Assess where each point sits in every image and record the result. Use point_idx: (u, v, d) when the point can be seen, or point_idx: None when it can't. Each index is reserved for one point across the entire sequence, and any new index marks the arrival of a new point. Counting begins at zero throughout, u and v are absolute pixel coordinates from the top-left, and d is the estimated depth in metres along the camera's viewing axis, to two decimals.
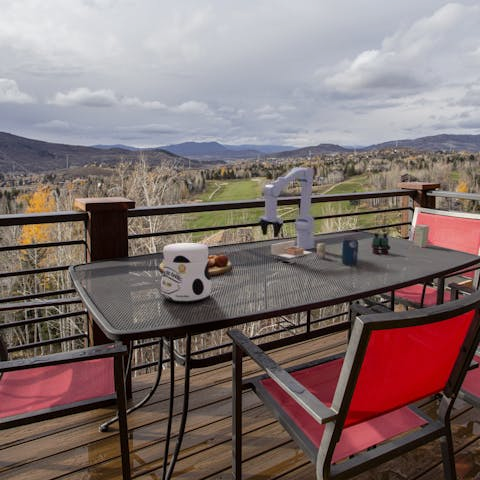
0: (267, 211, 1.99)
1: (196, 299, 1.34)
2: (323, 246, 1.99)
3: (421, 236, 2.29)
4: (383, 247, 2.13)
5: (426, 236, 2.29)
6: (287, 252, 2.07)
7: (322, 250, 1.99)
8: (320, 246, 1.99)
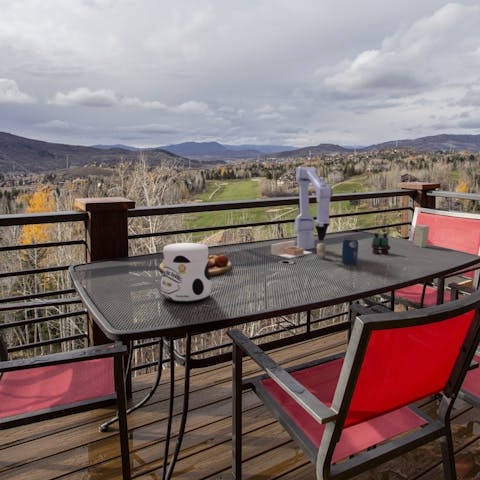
0: (317, 213, 1.98)
1: (196, 299, 1.34)
2: (323, 246, 1.99)
3: (421, 236, 2.29)
4: (383, 247, 2.13)
5: (426, 236, 2.29)
6: (287, 252, 2.07)
7: (322, 250, 1.99)
8: (320, 246, 1.99)
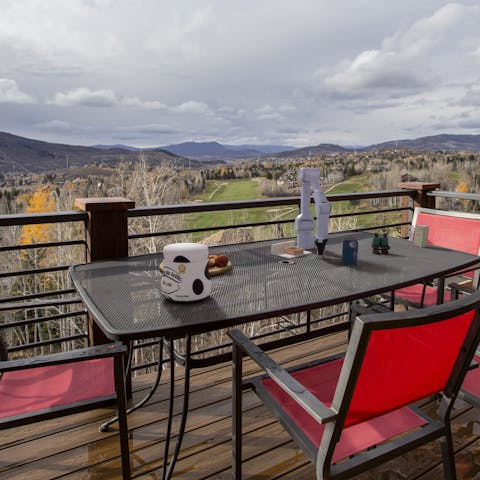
0: (316, 228, 1.99)
1: (196, 299, 1.34)
2: None
3: (421, 236, 2.29)
4: (383, 247, 2.13)
5: (426, 236, 2.29)
6: (287, 252, 2.07)
7: None
8: None
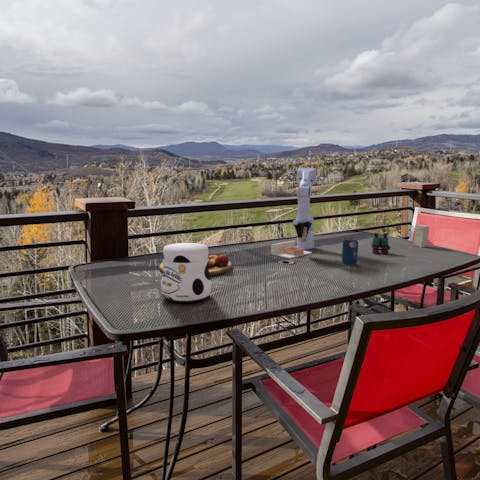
0: None
1: (196, 299, 1.34)
2: None
3: (421, 236, 2.29)
4: (383, 247, 2.13)
5: (426, 236, 2.29)
6: (287, 252, 2.07)
7: None
8: None
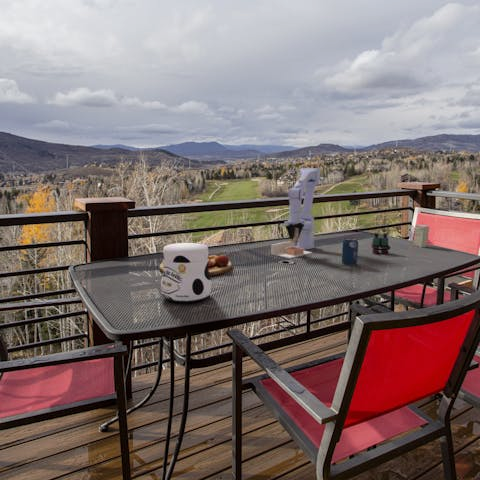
0: None
1: (196, 299, 1.34)
2: None
3: (421, 236, 2.29)
4: (383, 247, 2.13)
5: (426, 236, 2.29)
6: (287, 252, 2.07)
7: None
8: None
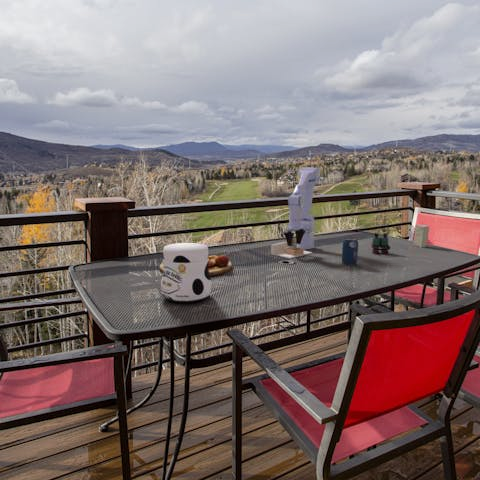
0: None
1: (196, 299, 1.34)
2: None
3: (421, 236, 2.29)
4: (383, 247, 2.13)
5: (426, 236, 2.29)
6: (287, 252, 2.07)
7: None
8: None
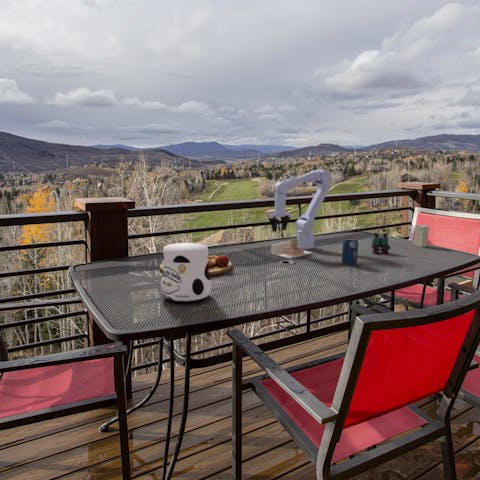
0: None
1: (196, 299, 1.34)
2: (293, 242, 2.06)
3: (421, 236, 2.29)
4: (383, 247, 2.13)
5: (426, 236, 2.29)
6: (287, 252, 2.07)
7: (292, 245, 2.06)
8: (291, 241, 2.06)
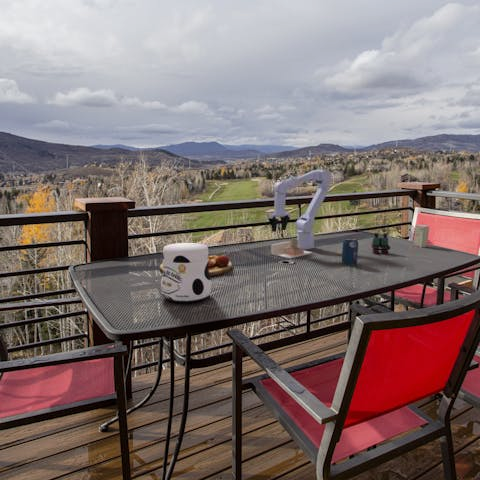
0: None
1: (196, 299, 1.34)
2: (294, 242, 2.06)
3: (421, 236, 2.29)
4: (383, 247, 2.13)
5: (426, 236, 2.29)
6: (287, 252, 2.07)
7: (292, 245, 2.06)
8: (291, 241, 2.06)
